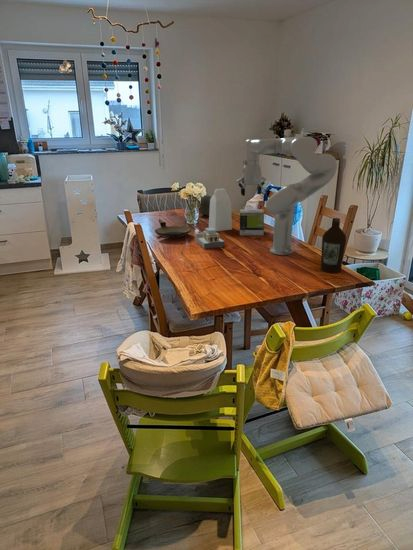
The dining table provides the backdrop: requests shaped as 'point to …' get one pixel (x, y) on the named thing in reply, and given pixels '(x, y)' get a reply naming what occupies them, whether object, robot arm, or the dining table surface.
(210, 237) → the pallet
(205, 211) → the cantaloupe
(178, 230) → the oil lamp
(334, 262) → the olive oil
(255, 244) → the dining table surface
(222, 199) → the milk
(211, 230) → the tote
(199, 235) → the dock
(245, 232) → the tea box
